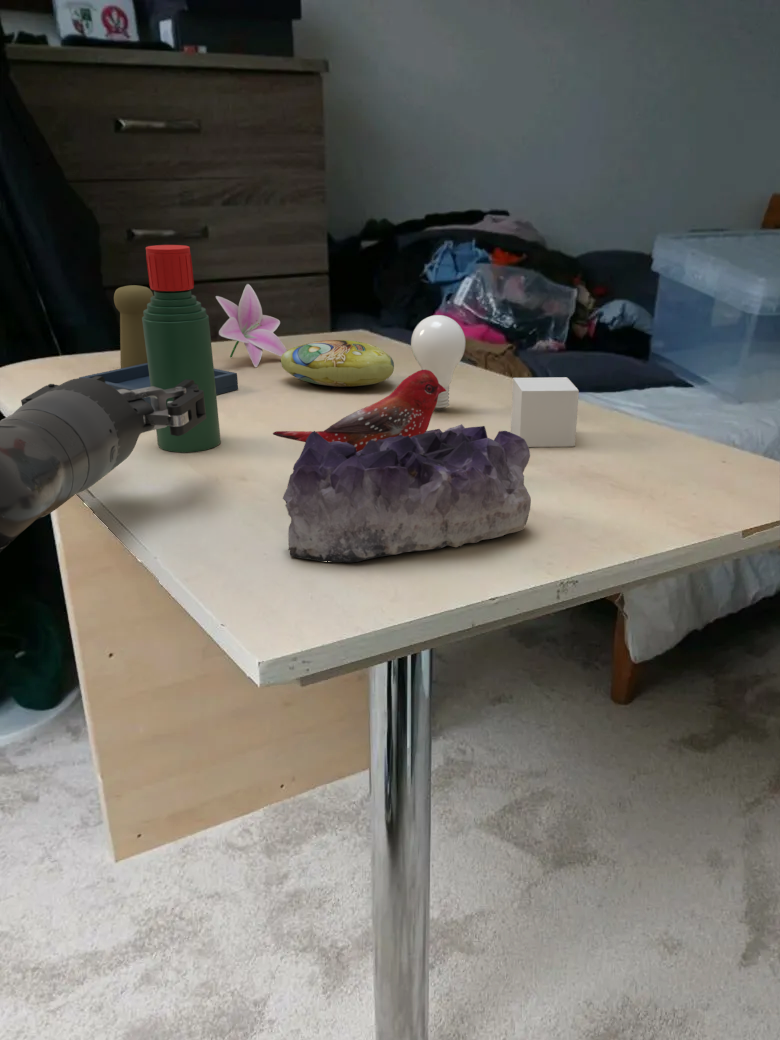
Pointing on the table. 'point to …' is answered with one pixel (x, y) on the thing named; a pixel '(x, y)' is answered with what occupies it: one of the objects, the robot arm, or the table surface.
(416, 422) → the decorative bird figurine
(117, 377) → the tray
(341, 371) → the painted stone
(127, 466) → the table surface
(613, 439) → the table surface
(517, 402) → the white cube
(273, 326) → the lily
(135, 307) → the cork
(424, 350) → the lightbulb
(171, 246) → the cap
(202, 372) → the bottle
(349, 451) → the geode
